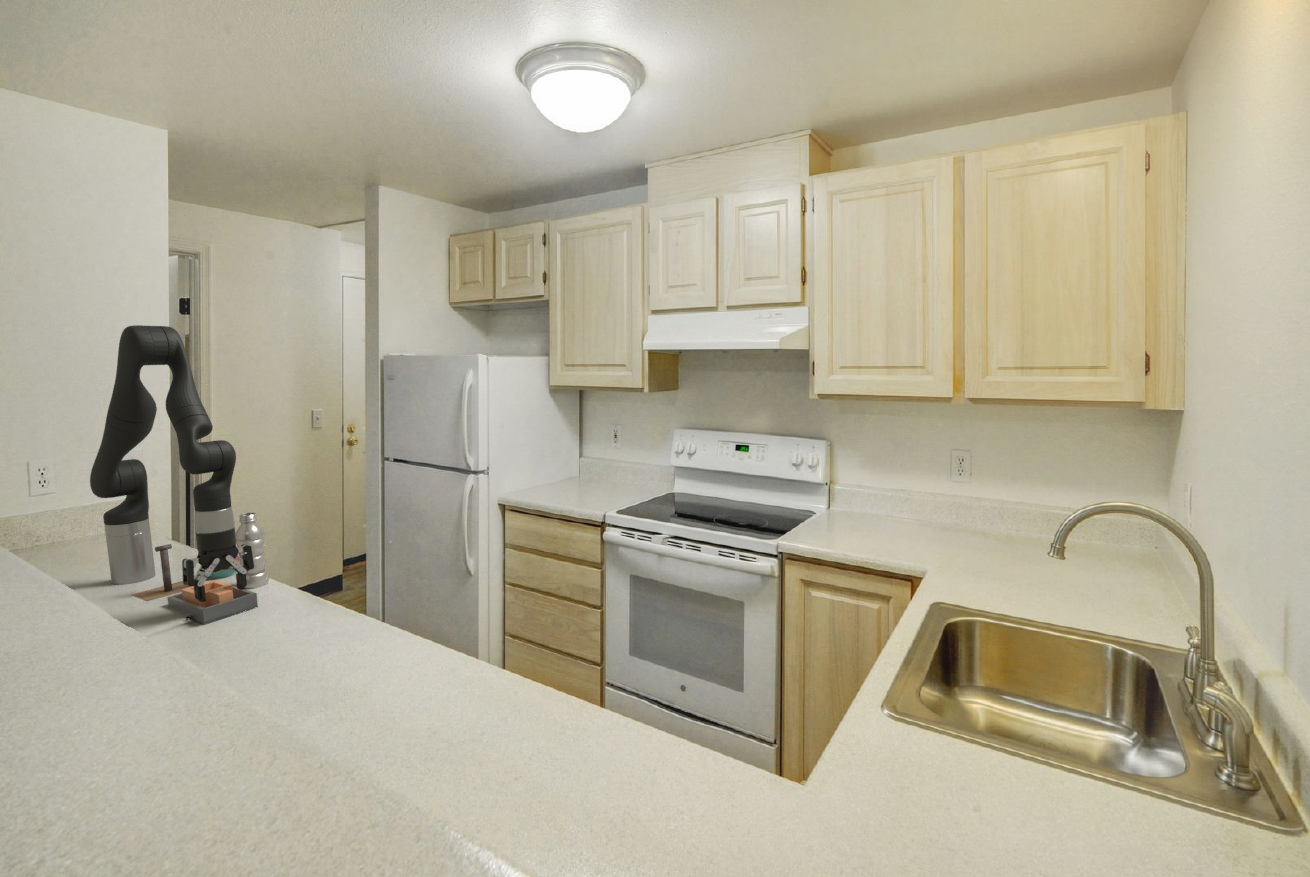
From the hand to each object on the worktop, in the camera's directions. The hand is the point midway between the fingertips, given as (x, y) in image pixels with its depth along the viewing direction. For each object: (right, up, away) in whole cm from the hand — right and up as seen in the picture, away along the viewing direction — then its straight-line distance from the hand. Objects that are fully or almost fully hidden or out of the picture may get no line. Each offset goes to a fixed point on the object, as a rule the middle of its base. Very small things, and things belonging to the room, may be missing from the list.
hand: (221, 594), depth 153 cm
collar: (-4, -4, +3) cm, 6 cm away
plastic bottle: (-2, -3, +15) cm, 16 cm away
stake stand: (-21, -3, +12) cm, 25 cm away
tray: (-4, -4, +3) cm, 6 cm away
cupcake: (-15, -2, +24) cm, 28 cm away
